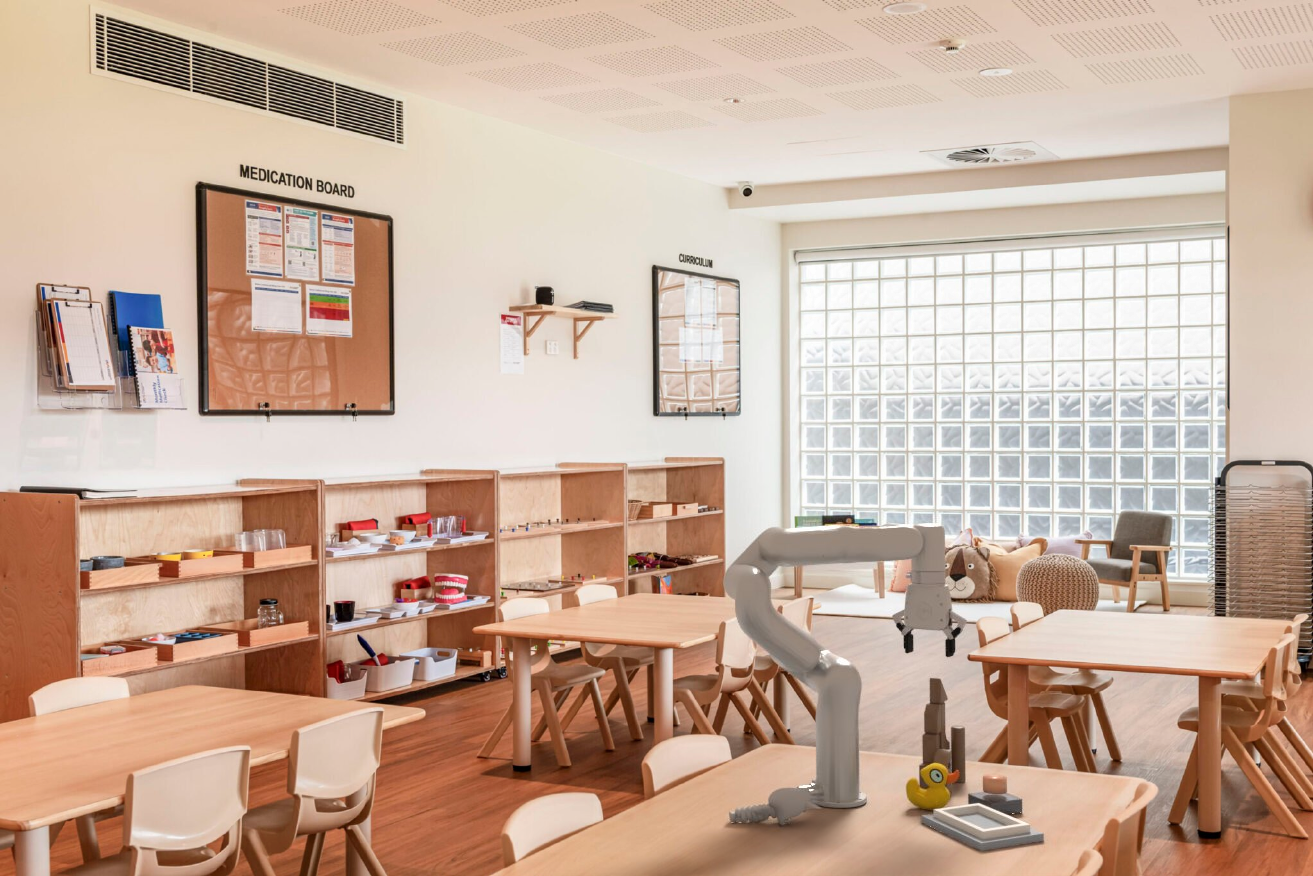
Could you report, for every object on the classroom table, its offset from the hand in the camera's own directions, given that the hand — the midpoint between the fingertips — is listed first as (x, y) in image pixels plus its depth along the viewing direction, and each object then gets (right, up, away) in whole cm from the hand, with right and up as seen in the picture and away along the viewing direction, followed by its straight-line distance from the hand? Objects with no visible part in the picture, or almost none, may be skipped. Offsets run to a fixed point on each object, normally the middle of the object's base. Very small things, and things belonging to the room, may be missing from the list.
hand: (929, 654), depth 279 cm
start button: (+11, -27, -13) cm, 32 cm away
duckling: (-2, -32, -12) cm, 34 cm away
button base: (+11, -31, -13) cm, 36 cm away
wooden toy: (+5, -32, +6) cm, 33 cm away
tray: (+4, -31, -28) cm, 42 cm away
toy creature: (-36, -32, -21) cm, 52 cm away
